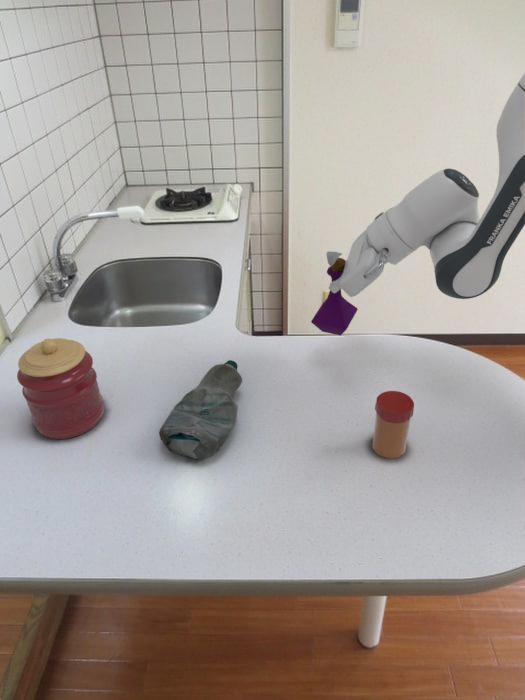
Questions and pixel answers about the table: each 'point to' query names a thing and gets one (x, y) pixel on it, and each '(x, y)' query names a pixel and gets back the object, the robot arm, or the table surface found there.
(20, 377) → the kitchen canister
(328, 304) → the purple potion bottle
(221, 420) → the crushed plastic bottle
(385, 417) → the jar lid
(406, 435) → the jam jar
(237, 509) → the table surface
